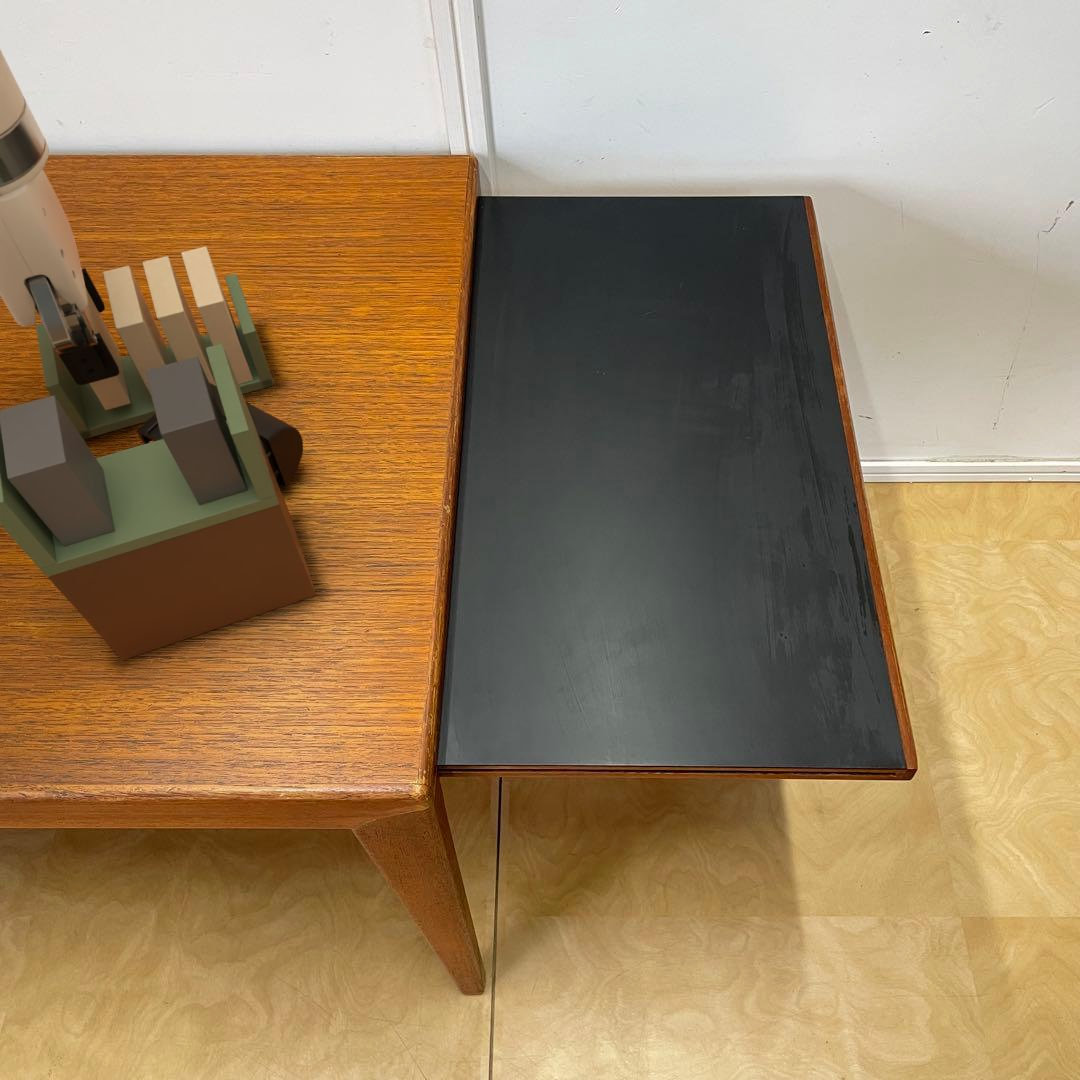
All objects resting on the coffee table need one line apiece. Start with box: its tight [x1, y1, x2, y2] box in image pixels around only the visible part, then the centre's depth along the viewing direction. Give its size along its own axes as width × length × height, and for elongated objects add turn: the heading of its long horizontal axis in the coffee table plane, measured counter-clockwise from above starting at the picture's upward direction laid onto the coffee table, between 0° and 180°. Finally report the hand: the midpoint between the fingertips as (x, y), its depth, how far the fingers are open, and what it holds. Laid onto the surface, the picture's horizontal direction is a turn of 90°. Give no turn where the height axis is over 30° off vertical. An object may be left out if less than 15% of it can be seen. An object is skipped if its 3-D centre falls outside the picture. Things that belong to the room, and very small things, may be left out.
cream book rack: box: [35, 245, 275, 441], centre depth 74 cm, size 16×7×10 cm, turn 112°
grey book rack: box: [0, 344, 317, 661], centre depth 59 cm, size 14×7×20 cm, turn 112°
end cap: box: [136, 383, 304, 492], centre depth 71 cm, size 10×7×7 cm
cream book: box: [58, 289, 131, 410], centre depth 71 cm, size 2×6×9 cm, turn 22°
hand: (91, 343), depth 72 cm, fingers closed on cream book, 6 cm apart
